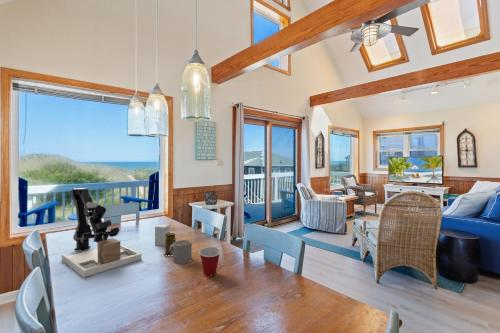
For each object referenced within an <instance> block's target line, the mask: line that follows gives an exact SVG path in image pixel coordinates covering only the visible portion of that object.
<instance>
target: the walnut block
mask: <svg viewBox="0 0 500 333" xmlns="http://www.w3.org/2000/svg"><path fill="white" fill-rule="evenodd" d="M120 244H121V241H120V240H118V239H116V238H115V237H110V238H107V240H103V241H98V243H97V249H98V262H99V263H101V264H106V263H109V262H113V261H116V260H119V259H120Z"/></svg>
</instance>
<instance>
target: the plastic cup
mask: <svg viewBox="0 0 500 333" xmlns="http://www.w3.org/2000/svg"><path fill="white" fill-rule="evenodd" d="M221 250H222V249H220V248H219V247H216V246H206V247H203V248H201V249H200V250H198V254H199V256H200V260H201V265H202V270H203V275H206V276H211V275H214V274H215V275H216V274H217V269H218V264H219V258H220V255H221V253H222V251H221ZM215 275H214V276H215ZM206 276H205V277H206Z"/></svg>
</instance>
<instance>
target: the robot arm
mask: <svg viewBox="0 0 500 333" xmlns="http://www.w3.org/2000/svg"><path fill="white" fill-rule="evenodd" d="M69 195H70V196H71V200H72V201H73V202H74V203H75V213H76V219H77V220H76V221H77V225H76V227H75V231H74V233H73V236H72V237H73V241H75V243H76V244H75V245H76V247H75V248H74V250H75V251H84V250H87V249H89V248H91V246H90V242H89V241H90V239H93V243H95V242H96V243H97V244H98V241H103V240H107V239H109V238H114V237H116V236H118V234H119V232H120V231H121V230H120V228H119V227H118V226H115V227H110V226H112V221H111V219H108V220H106V221H103V220H102V219H103V218H104V216H105V214H106V213H107V212H106V211H107V208H106V207H104V206H102V205H101V204H97V203H95V202H94V201H93V199H92V197H91V195H90V193H89V189H88V188H85V187H78V188H76V187H75V188H71V190H69ZM87 218H89V219H88V220H89V221H88V222H87ZM109 227H110V230H108V228H109ZM107 230H108V231H107Z"/></svg>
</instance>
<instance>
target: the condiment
mask: <svg viewBox="0 0 500 333" xmlns="http://www.w3.org/2000/svg"><path fill="white" fill-rule="evenodd" d="M176 241H177V238H176V234H175V233H173V232H170V233H168V234H166V239H165V246H164V249H165V250H164V251H163V255H164V257H165V258H169V257H170V256H171V255H172V254H171V253H170V246H171V245H172V244H174V242H176ZM172 250H173V247H172ZM166 255H167V256H166ZM168 255H170V256H168ZM171 257H172V256H171ZM171 257H170V258H171Z"/></svg>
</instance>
